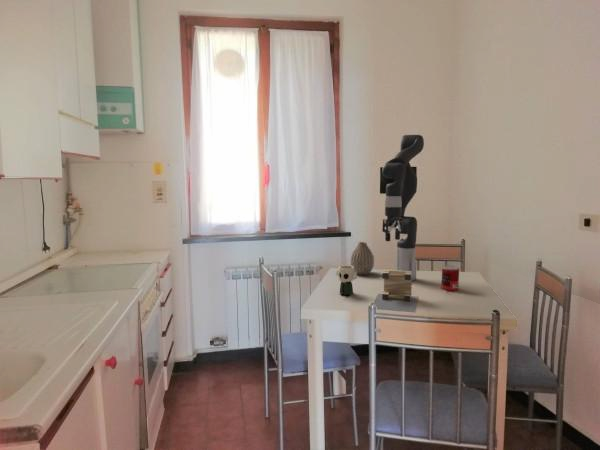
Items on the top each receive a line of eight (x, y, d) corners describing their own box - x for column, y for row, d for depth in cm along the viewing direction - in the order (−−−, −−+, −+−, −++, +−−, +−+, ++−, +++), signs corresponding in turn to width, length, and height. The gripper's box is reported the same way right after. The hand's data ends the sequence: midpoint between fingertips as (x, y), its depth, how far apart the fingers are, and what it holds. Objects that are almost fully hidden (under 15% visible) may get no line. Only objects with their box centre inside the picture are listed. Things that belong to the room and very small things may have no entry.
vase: (348, 271, 253) (348, 240, 251) (371, 270, 254) (371, 240, 252) (352, 276, 240) (352, 244, 238) (376, 276, 241) (377, 244, 239)
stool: (410, 301, 193) (410, 274, 191) (382, 299, 196) (382, 273, 195) (411, 297, 199) (411, 271, 198) (384, 295, 203) (384, 269, 201)
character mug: (332, 294, 208) (332, 266, 206) (340, 290, 213) (340, 264, 212) (352, 298, 201) (352, 269, 199) (360, 294, 206) (360, 267, 205)
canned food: (459, 288, 216) (459, 265, 214) (457, 292, 208) (458, 269, 207) (442, 286, 219) (443, 264, 217) (440, 290, 212) (441, 268, 210)
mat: (378, 294, 206) (378, 293, 206) (418, 297, 200) (418, 296, 200) (370, 309, 184) (370, 308, 184) (415, 313, 179) (415, 312, 179)
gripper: (394, 205, 216) (393, 238, 217) (377, 206, 205) (377, 241, 207) (408, 205, 210) (407, 239, 212) (392, 206, 200) (391, 242, 201)
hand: (392, 240), depth 209 cm, fingers open, 8 cm apart
